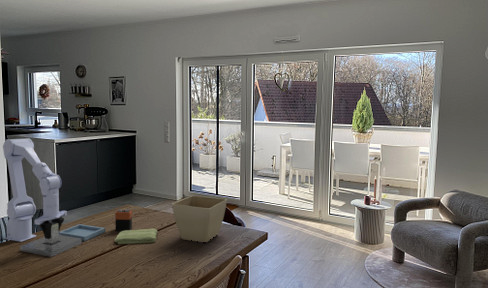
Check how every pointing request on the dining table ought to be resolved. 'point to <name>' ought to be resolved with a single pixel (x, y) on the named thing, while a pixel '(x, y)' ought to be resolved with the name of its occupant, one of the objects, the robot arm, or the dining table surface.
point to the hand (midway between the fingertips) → (51, 236)
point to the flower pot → (199, 217)
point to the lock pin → (53, 235)
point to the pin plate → (50, 246)
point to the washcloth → (136, 236)
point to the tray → (82, 232)
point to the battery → (123, 220)
